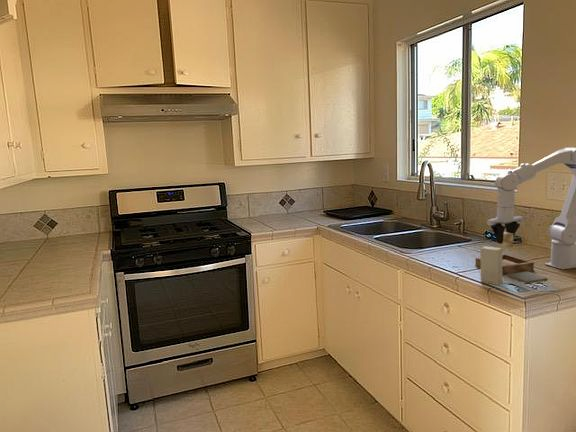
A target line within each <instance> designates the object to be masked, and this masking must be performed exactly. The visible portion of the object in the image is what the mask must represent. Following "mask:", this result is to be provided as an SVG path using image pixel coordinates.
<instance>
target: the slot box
mask: <svg viewBox="0 0 576 432" xmlns="http://www.w3.org/2000/svg"><path fill="white" fill-rule="evenodd" d="M474 263H475V266H476V267H478V268H481V256H480V257H475V262H474ZM534 263H535V262H533V261H531V260H527V259H523V258H520V257H516V256H514V255H510V254H506V253H502V276H506V274H512V273H519V272H526V271H527V272H532V271H534V268H535V267H534V265H535V264H534Z"/></svg>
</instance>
